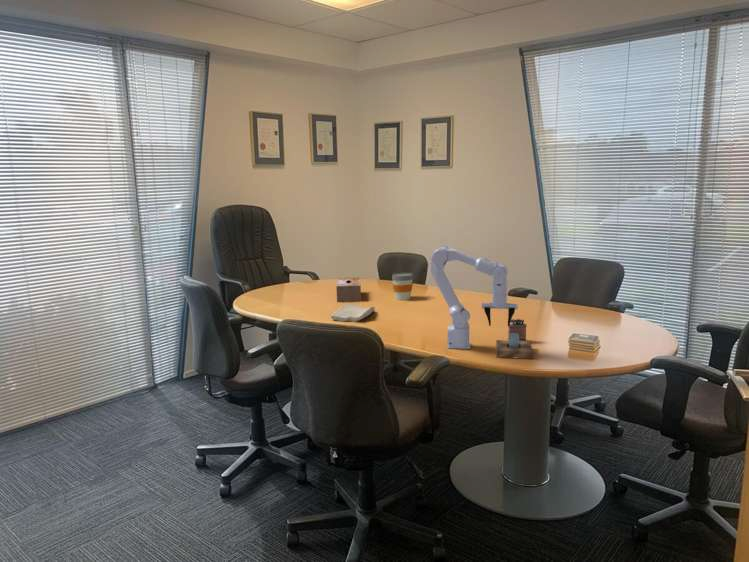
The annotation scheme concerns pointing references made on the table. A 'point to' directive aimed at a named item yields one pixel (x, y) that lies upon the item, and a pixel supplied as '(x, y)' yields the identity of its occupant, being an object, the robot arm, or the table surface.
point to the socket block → (514, 349)
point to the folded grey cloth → (351, 313)
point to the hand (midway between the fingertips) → (499, 325)
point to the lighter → (518, 328)
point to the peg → (513, 340)
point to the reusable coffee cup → (402, 285)
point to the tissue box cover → (348, 290)
